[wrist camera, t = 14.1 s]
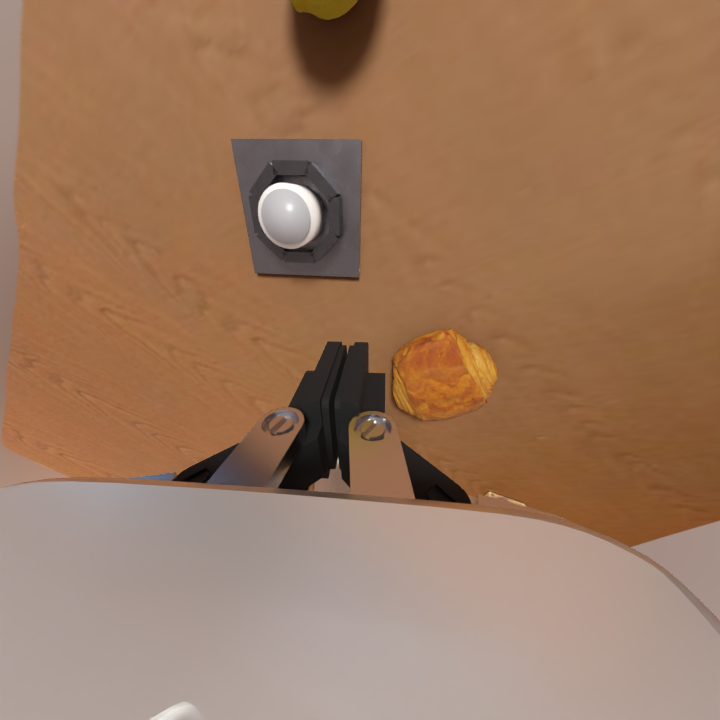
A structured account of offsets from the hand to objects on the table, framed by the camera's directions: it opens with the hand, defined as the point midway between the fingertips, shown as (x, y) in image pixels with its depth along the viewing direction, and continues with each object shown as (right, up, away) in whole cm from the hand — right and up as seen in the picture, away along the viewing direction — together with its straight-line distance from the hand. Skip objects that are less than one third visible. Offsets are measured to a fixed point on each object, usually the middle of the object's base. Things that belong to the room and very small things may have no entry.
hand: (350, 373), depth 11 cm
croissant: (+13, -1, +31) cm, 33 cm away
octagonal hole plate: (-6, +18, +21) cm, 28 cm away
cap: (-7, +18, +20) cm, 28 cm away
